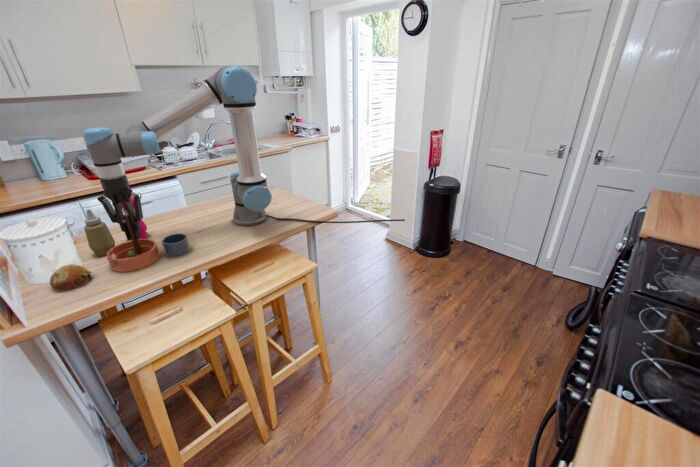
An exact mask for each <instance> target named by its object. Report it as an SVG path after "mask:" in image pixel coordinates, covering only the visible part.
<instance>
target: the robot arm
mask: <svg viewBox="0 0 700 467" xmlns="http://www.w3.org/2000/svg"><path fill="white" fill-rule="evenodd" d="M257 92H258V83H257V80H256V78H255V76H254V75H253V73H251V71H250V70H248V69H246V68H245V67H243V66H240V65H230V66H229V65H227V66H222V67H221V68H219V69H218V70H216V71H215V72H214V73H213V74H211V75H210V76H209V77H207V78H206V79H204V80H203V81H202V82H201V86H200V85H199V87H197V88H195V89H194V90H192V91H190V92H188V93H187V94H185V95H184V96H182V97H180V98H179V99H177V100H175V101H174V102H172V103H171V104H168V105H167V106H165V107H164V108H161V109H160V110H159V111H157V112H155V113H154V114H152V115H150V116H149V117H147V118H145V119H144V120H142V121H141V122H138V123H137V124H135V125H132V126H129V127H128V128H127V129H126V131H125V132H123V133H122V132H121V133H114V132H113V131H112V129H111V128H110V127H91V128H86V129H84V131H83V132H82V134H83V139H84V141H85V144H86V145H85V146H86V147H87V151H88V154H89V156H90V158H91V161H92V163H93V166H94V169H95V172H96V174H97V177H98V178H99V182H100V185H101V187H102V190H103V194H101V195H99V196H98V197H97V198H96V200H97V201H98V202H100V204H101V205H102V207H103V208H104V210H105V212H106V214H107V216H108V217H109V219H110V221H111V223H113V224H118V225H119V227H120V230H121V232H124V235H125V237H126V241H130V240H131V237H130V234H129V231H128V229H127V226H126V223H125V220H124V217H123V215H124V214H125V213H124V211H123V208H122V206H121V203H122V204H123V206H124V207H125V209H126V211H127V213H128V215H129V217H130V219H131V223H130V226H131V228H132V231H133V234H134V237H135V240H138V239H139V238H140V237H141V235H140V232H139V230H140V225H139V222H138V221H140V220H141V219H142V220H143V219H144V214H143V208H142V201H141V200H142V199H141V198H142V195H143V194H142V193H139V192H138V193H137V192H134V191H133V189H132V188H131V187H130V183H129V180H128V177H127V175H126V171H125V167H124V164H123V161H122V159H121V158H128V157H139V156H151V155H155V154H159V153H160V151H161V149H160V145H159V142H158V140H160V139H161V138H162V137H164V136H166V135H168V134H169V133H171V132H172V131H174V130H175V129H177V128H179V127H180V126H182V125H185V123H187V122H189V121H190V120H192V119H193V118H195V117H197V116H198V115H200V114H202V113H204V112H205V111H206V110H207V111H208V110H209V109H210V108H212V107H213V106H215V105H216V106H220V105H222V106H223V109H224V110H226V111H227V112H228V115H229V119H230V126H231V132H232V137H233V143H234V149H235V154H236V160H237V168H238V171H236V172H232V173H231V174H230V175H229V177H230V178H229V179H230V180H229V181H230V184H231V190H232V195H233V201H234V210H233V216H232V218H233V223H234V224H236V225H238V226H253V225H259V224H261V223H263V222H265V221H266V220H267V218H271V219H273V220H278V221H298V222H306V223H320V224H359V223H360V224H361V223H377V222H378V223H379V222H405V221H406V219H404V218H403V219H402V218H401V219H373V220H372V219H371V220H351V221H350V220H349V221H331V220H330V221H329V220H327V221H325V220H312V219H311V220H310V219H300V218H287V217H286V218H285V217H284V218H281V217H275V216H272V215H268V214H267V212H266V210H265V209H267V208H268V207H269V206H270V204H271V202H272V200H273V196H272V192H271V190H270V188H269V187H268V182H267V176H266V175H265V174H264V173H263V171H262V166H261V160H260V159H261V158H260V152H259V146H258V138H257V132H256V123H255V118H254V111H255V109H256V108H257V103H256V95H257V94H258V93H257ZM131 197H132V198H133V200H134V207H135V211H134V208H133V206H132V204H131V200H130V198H131Z"/></svg>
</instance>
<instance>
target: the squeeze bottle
mask: <svg viewBox="0 0 700 467" xmlns="http://www.w3.org/2000/svg"><path fill="white" fill-rule="evenodd" d="M84 223H85V226H84V227H83V229H84V233H85V237H86V240H87V243H88V247H89V249H90V250H91V251H92V252H93V253H94V254H95V255H96V256H99V257H104V256H106V254H107V252H108V251H109V250H110V249H111V248H113V247H115V246H116V241H115V238H114V236H113V234H112V233H111V231H110V229H109V228H108V225H107V224H106V222H105V221H102V219H101V217H100V216H96V215H95V214H94V212H93V211H92V210H91V209H90V208H89V209H86V219H84Z"/></svg>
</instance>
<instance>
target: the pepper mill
mask: <svg viewBox="0 0 700 467" xmlns="http://www.w3.org/2000/svg"><path fill="white" fill-rule="evenodd" d="M130 200H131V204H132V206H133V208H134V211H135V207H134V200H133V198H132V196H131V198H130ZM121 206H122V210H123V214H128V213H127V211H126V209H125V207H124V206H123V204H122V203H121ZM138 222H139V225H140V230H139V232H140V235H141V237H140V238H139V239H148V237H149V233H148V232H147V230H148V226H147V224H146V223H145V221H144V220H143V219H141V220H140V221H138Z"/></svg>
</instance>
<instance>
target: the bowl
mask: <svg viewBox="0 0 700 467" xmlns="http://www.w3.org/2000/svg"><path fill="white" fill-rule="evenodd" d="M138 240H139V243H140V246H141V249H142V252H143V253H142V254H140V255H137V254H136V257H132V258H128V257H127V252H128V251H131V250H133V251H135V248H134V245H133V243H132V240H129V241H128V240H126V241H124V242H121V243H119V244H115V247H113V248H111V249H110V250H109V251H108V252H107V254H106V255H105V256H106V259H107V262H108V264H109V266H110V268H111V270H112V271H115V272H119V273H128V272H129V273H131V272H134V271H139V270H142V269H145V268H147V267H149V266H152V265H153V264H154V263H157V261H158V260H159V259H160V258H161V251H160V249H159V245H158V243H157V241H156V240H155V239H152V238H145V239H138ZM146 251H148V252H146ZM135 252H136V251H135ZM145 252H146V253H145Z"/></svg>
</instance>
